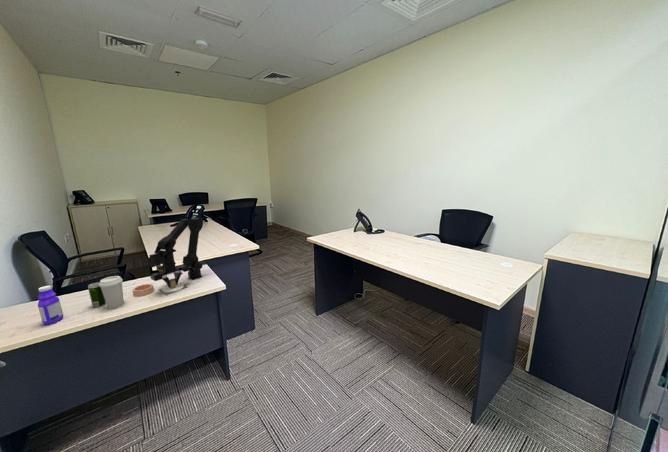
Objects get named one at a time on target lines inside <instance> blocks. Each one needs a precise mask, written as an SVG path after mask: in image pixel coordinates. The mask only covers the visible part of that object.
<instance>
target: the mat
mask: <svg viewBox="0 0 668 452" xmlns="http://www.w3.org/2000/svg"><path fill="white" fill-rule="evenodd" d="M163 288H164V287H162V288H160V289H158V291H159V292H161V293H162V294H164V295H166V296H168V295H172V294H175V293H177V292H179V291H183V290H186V289H188V288H189V286H187V285H185V284H184V287H183V288H182V289H181V290H179V291H176V292H171V293H164V292H163V291H162V289H163Z"/></svg>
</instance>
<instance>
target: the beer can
mask: <svg viewBox="0 0 668 452" xmlns="http://www.w3.org/2000/svg"><path fill="white" fill-rule="evenodd" d="M99 283H100V281H98V282H93V283H90V284H88V285H87V290H88V293H89V297H90V301H91V302H90V303H91V305H92V307H93V308H96V309H97V308H101V307H104V306H105V305H107V303H106V300H105V298H104V295H103V292H102V289H101V287H100V286H99Z"/></svg>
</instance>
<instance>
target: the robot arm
mask: <svg viewBox="0 0 668 452" xmlns="http://www.w3.org/2000/svg"><path fill="white" fill-rule="evenodd" d="M203 227H204V220H203V219H202V218H200V217H191V218H182V219H180V220H179V222H178V224H176V225H175V227H174V228H173V229H172V230H171V232H169V233H168V235H166V236H164V237H162V238H161V239H160V240H158V242H157V245H156V248H155V249H154V252H153V254H150V255H149V257H148V259H147V264H148V266H149V267H151V268H156V270H157V272H154V273H152V274H150V279H151V280H152V281H155V282H157V281H160V280H161V281H164V282H165V284H166V286H168V287H170V282H169V279H170V278H169V276H168V275H172V274H173V275H174V279H175V280H176V285H177V284H178V283H179V281H180V278H181V276H182V275H183V274H184V273H186V272H187V278H188V279H189V280H192V281H194V280H197V279H200V278H203V275H202V273H201V272H202V271H201V269H203V264H202V263H201V262H199V257H198V255H197V253H198V252H197V251H198V245H199V234H200V231H202V229H203ZM187 228H188V230H189V232H190V233H189V241H188V249H187V254H186V255H184V256H183V257H182V261H181V264H182V265H179V266H177V268H176V264H177V263H176V260H175V256H174V253H175V252H177V249H174V248H175V246H176V243H177V239H178V238H179V237H180V236H181V235H182V234H183V232H184V231H185V230H186V229H187ZM159 271H160V272H161V273H160V272H159ZM183 272H184V273H183Z"/></svg>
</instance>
